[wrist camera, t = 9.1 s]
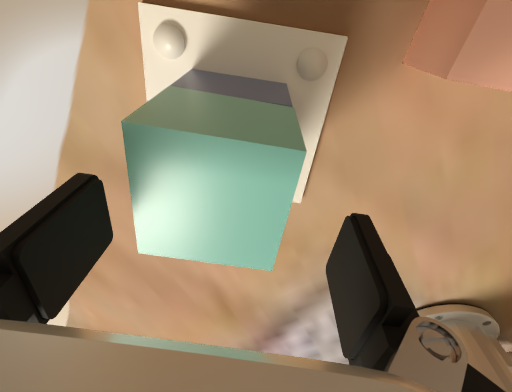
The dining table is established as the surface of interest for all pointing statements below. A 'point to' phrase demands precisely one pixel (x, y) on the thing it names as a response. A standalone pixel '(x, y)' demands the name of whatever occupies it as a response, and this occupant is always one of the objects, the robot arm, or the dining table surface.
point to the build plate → (243, 64)
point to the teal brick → (212, 176)
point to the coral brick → (465, 42)
